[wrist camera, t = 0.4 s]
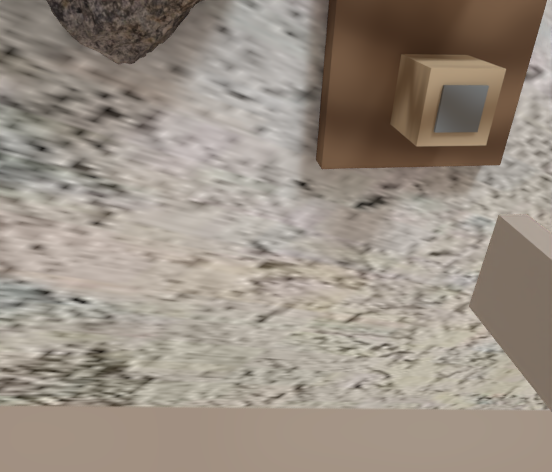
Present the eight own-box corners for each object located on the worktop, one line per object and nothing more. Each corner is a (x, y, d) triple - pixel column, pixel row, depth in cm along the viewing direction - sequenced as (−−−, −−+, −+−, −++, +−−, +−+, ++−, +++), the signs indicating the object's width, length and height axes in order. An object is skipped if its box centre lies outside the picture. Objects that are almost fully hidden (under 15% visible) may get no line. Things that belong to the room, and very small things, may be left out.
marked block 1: (401, 54, 34) (432, 68, 29) (467, 54, 35) (507, 69, 30) (390, 124, 36) (417, 147, 32) (452, 123, 37) (487, 146, 33)
